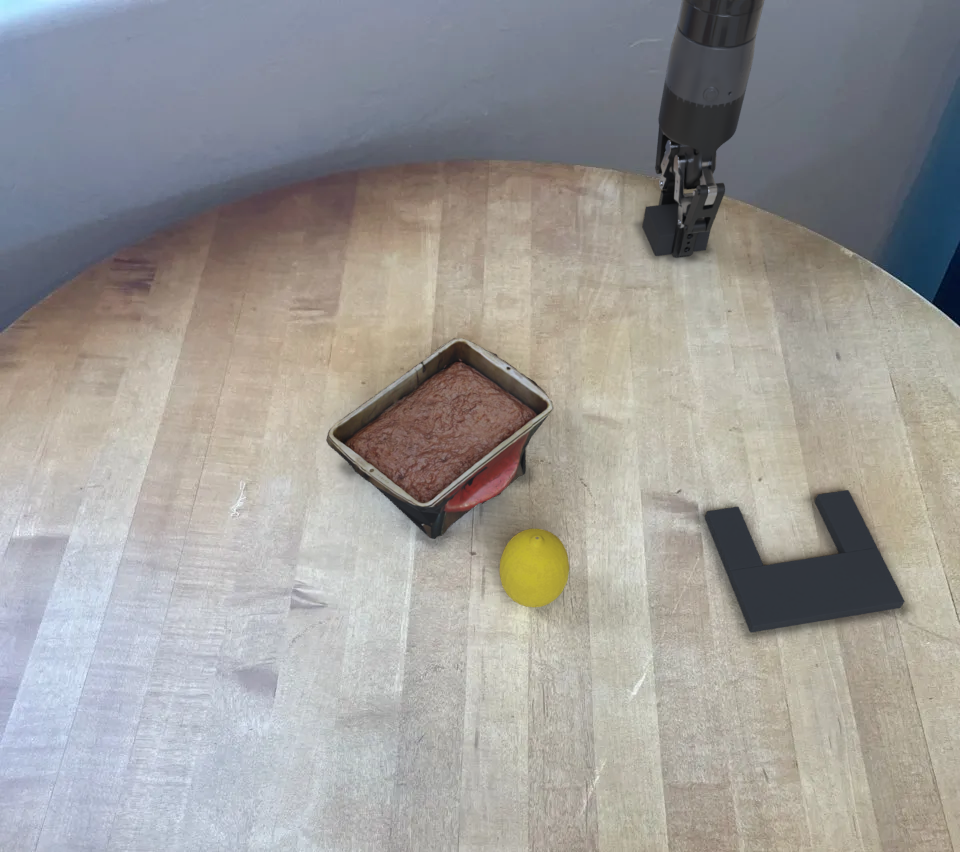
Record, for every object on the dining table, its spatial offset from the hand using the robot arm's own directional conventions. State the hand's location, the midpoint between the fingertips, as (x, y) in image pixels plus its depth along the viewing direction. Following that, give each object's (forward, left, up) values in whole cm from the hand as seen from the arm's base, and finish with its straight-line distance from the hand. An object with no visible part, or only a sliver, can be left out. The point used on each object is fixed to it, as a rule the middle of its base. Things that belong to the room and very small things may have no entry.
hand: (673, 237), depth 106 cm
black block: (0, 0, -1) cm, 1 cm away
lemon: (+25, +42, -1) cm, 49 cm away
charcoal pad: (+2, +43, -1) cm, 43 cm away
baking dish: (+30, +27, -1) cm, 40 cm away
